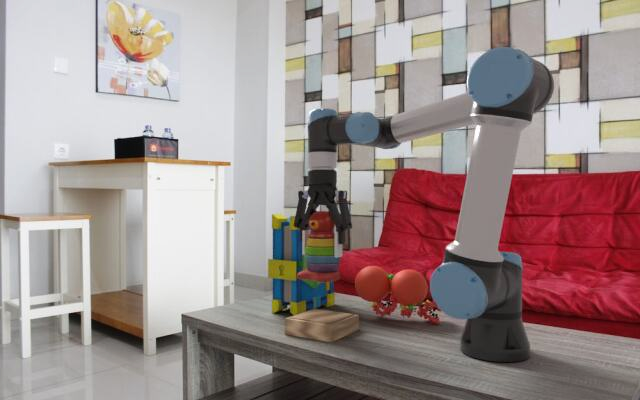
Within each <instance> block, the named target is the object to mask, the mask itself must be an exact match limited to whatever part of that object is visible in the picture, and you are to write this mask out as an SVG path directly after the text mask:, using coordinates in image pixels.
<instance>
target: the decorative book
mask: <svg viewBox="0 0 640 400" xmlns="http://www.w3.org/2000/svg"><path fill="white" fill-rule="evenodd" d="M295 216H296V215H290V216H289V217H288V218H287V217H286V216H285V215H283V214H281V213H277V214H276V213H274V214H271V229H272V258H271V259H269V258H268V259H267V273H268V274H267V278H270V279H272V299H271V313H272V314H275V313H279V312H282V311H284V310H286V309H288V306H289V312H290V314H292V316H294V315H297V314H300V313H303V312H306V311H309V310H312V309H319V308H320V307H321V306H324V307H326V308H328V307H332V306H335V303H336V301H335V300H336V297H335V296H336V295H335V294H336V293H335V281H333V282H326V283H321V282H316V281H313V280H302V279H298V278H297V274H298V273H299V272H301V271H304V270H308V268H307V262H306V259H305V255H302V242H301V241H300V229H299V228H297V227H294V221H295ZM308 228H309V229H307V230H310V233H312V230H311V229H310V227H308ZM335 228H336V226H334V229H333V231H332V232H333V233H335Z"/></svg>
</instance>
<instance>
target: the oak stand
mask: <svg viewBox="0 0 640 400" xmlns="http://www.w3.org/2000/svg"><path fill="white" fill-rule="evenodd" d="M359 326H360V316H359V314H355V313H350V312H349V313H348V312H343V311H342V312H341V311H333V310H328V309H320V308H315V309H308V310H306V312H303V313H300V314H297V315H292V316H288V317H285V318H284V335H288V336H294V337H298V338H304V339H311V340H316V341H320V342H326V343H333V342H335V341H337V340H340V339H342V338H344V337H347V336H349V335H351V334H353V333H354V332H357V331H359V330H360V327H359Z"/></svg>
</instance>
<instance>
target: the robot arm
mask: <svg viewBox="0 0 640 400" xmlns="http://www.w3.org/2000/svg"><path fill="white" fill-rule="evenodd" d="M466 87H467V88H466V89H467V92H465V93H461V94H459V95H455V96H452V97H449V98H445V99H442V100H439V101H436V102H432V103H429V104H425V105H423V106H419V107H416V108H413V109H410V110H407V111H403V112H399V113H397V114H394V115H391V116H387V117H384V118H379V117H376V116H375V115H374V114H373V113H372V112H369V111H366V112H363V111H362V112H361V111H357V112H354V113H346V114H341V115H337V114H338V112H337V110H335V109H333V108H314V109H312V110H310V111H309V113H308V118H307V119H308V122H307V123H308V124H307V136H308V137H307V141H308V143H307V144H308V147H307V148H308V149H307V150H308V151H307V168H308V169H309V170H308V171H307V184H308V189H307V190H299V191H298V192H297V195H298V202H297V205H296V206H297V207H296V210H295V211H296V212H295V215H294V216H295V221H294V227H297V228H299V229H300V241H301V242H302V255H306V254H305V248H306V243H307V239H308V238H309V234H310V230H307V229H309V228H308V227H309V219H310V217H311V216H312V215H313V212H314V211H317V209H318V208H319V206H325V208H327V211H329V212H330V214H331V217H332V219H333V221H334V223H335V228H336V231H334V233H335V248H334V257H336V258H338V257H341V258H342V257H343V245H346V244H345V243H346V232H347V231H348V230H351V229H353V224H352V223H353V222H352V219H351V214H350V209H349V205H348V191H347V190H339V189H337V183H338V174H337V173H338V172H337V170H335V169H337V166H338V165H337V164H338V162H337V161H338V158H337V157H338V155H337V154H338V151H337V150H338V146H345V145H346V146H347V145H350V146H351V145H354V146H362V147H371V148H378V149H382V150H390V149H391V150H392V149H393V150H394V149H397V148H398V147H400V145H402V144H404V143H407V142H408V143H409V142H411V141H414V140H418V139H422V138H427V137H430V136H434V135H438V134H441V133H445V132H449V131H454V130H457V129H461V128H465V127H468V126H473V125H475V130H474V131H475V132H474V136H473V142H472V147H471V152H470V156H469V157H470V158H469V163H468V167H467V172H466V173H467V174H466V179H465V184H464V190H463V194H462V200H461V205H460V210H459V211H460V212H459V216H458V221H457V226H456V232H455V236H454V240H453V241H452V242H451V243H449V244H447V245H446V247H445V249H444V255H443V261H442V263H441V264H440V265H439V266H438V267H436V268H435V269H434V271H433V272H432V274H431V276H430V280H429V291H430V294H431V299H433V300H434V301H435V303H436V304H437V307H438V308H439V309H440V310H441V312H442V313H443V314H445V315H446V316H448V317H451V318H452V319H456V320H466V322H465V325H464V327H463V331H462V334H461V336H460V340H459V350H460V352H461V353H462V354H464V355H466V356H469V357H471V358H475V359H477V360H478V359H479V360H482V361H490V362H499V363H501V362H502V363H512V362H515V363H516V362H520V361H525V360H527V359H529V358H530V357H531V344H530V341H529V337H528V335H527V331H526V329H525V326H524V322H523V270H524V268H523V263H522V262H523V261H522V256H521V255H520V254H518V253H516V252H510V251H509V252H508V251H499V249H498V248H499V245H500V238H501V234H502V229H503V224H504V219H505V218H504V217H505V214H506V208H507V202H508V198H509V193H510V188H511V183H512V179H513V173H514V168H515V163H516V160H517V159H516V158H517V153H518V149H519V143H520V137H521V133H522V131H523V130H525V129H526V128H527V127H529V126H530V125H531V124H532V121H533V116H534V115H535V114H537V113H539V112H540V111H541V110H543V109H544V108H545V107H546V106H547V105H548V103H549V102H550V101H551V99H552V97H553V93H554V90H555V81H554V76H553V74H552V73H551V71H550V69H549V68H548V67H547V66H546V65H545V64H544V63H542V62H541V61H539V60H536V59H535V58H533V57H532V56H530V55H529V54H528V53H526V52H525V51H523V50H521V49H518V48H513V47H510V46H499V47H494V48H491V49H488V50H487V51H485V52H484V53H483V54H482V55H481V56H479V57H477V59H476V60H475V61H474V62H473V64H472V65H471V67H470V69H469V71H468V74H467V77H466ZM308 198H310V199H309V201H308ZM335 198H337V202H338V203H336V199H335ZM337 204H338V205H337ZM338 207H339V209H338Z"/></svg>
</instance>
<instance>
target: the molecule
mask: <svg viewBox="0 0 640 400" xmlns="http://www.w3.org/2000/svg"><path fill="white" fill-rule="evenodd" d="M354 288H355V291H356V293H357V295H358V296H359V297H360V298H361V299H362V300H363V301H366V302H369V303H370V306H369V307H370V308H371V309H372V311H373V312H375V315H378V314H379V315H380V317H381V318H383V317H384V316H385V315H386V316H390V315H391V313H393V312H394V311H396V309H397V307H398V304H399V308H400V309H401V310H400V316H402V317H403V318H405V316H406V317H407V318H408V319H409V318H411V316H412V315H413V316H416V315H418V316H419V318H424V320H428V322H429V323H433V324H436V325H438V324H440V317H439V315H438V313H435V312H436V311H438V312H440V313H441V312H442V311H441V310H440V309H439V308H438V307H437V304H436V303H435V301H434V300H433V298H430V301H429V299H427V300H426V301H424V300H425V298H427V295H428V290H429V289H428V288H429V287H428V282H427V280H426V278H425V276H424V275H423V274H422V273H421V272H419V271H417V270H415V269H410V268H409V269H401V270H400V271H399V272H396V273H395V274H393V273H390V274H388V272H387V271H386V270H385V269H383V268H382V267H380V266H377V265H368V266H366V267H363V268H362V269H361V270H359V272H358V273H357V274H356V276H355V280H354ZM389 294H390V295H389ZM388 295H389V301H388V300H387V301H386V303H384V302H382V300H384V299H385V298H386V297H387V296H388ZM416 306H418V307H416ZM414 307H415V308H414ZM417 309H418V310H417ZM382 310H383V311H382ZM416 310H417V311H416ZM415 312H416V313H415ZM413 313H414V314H413Z"/></svg>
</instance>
